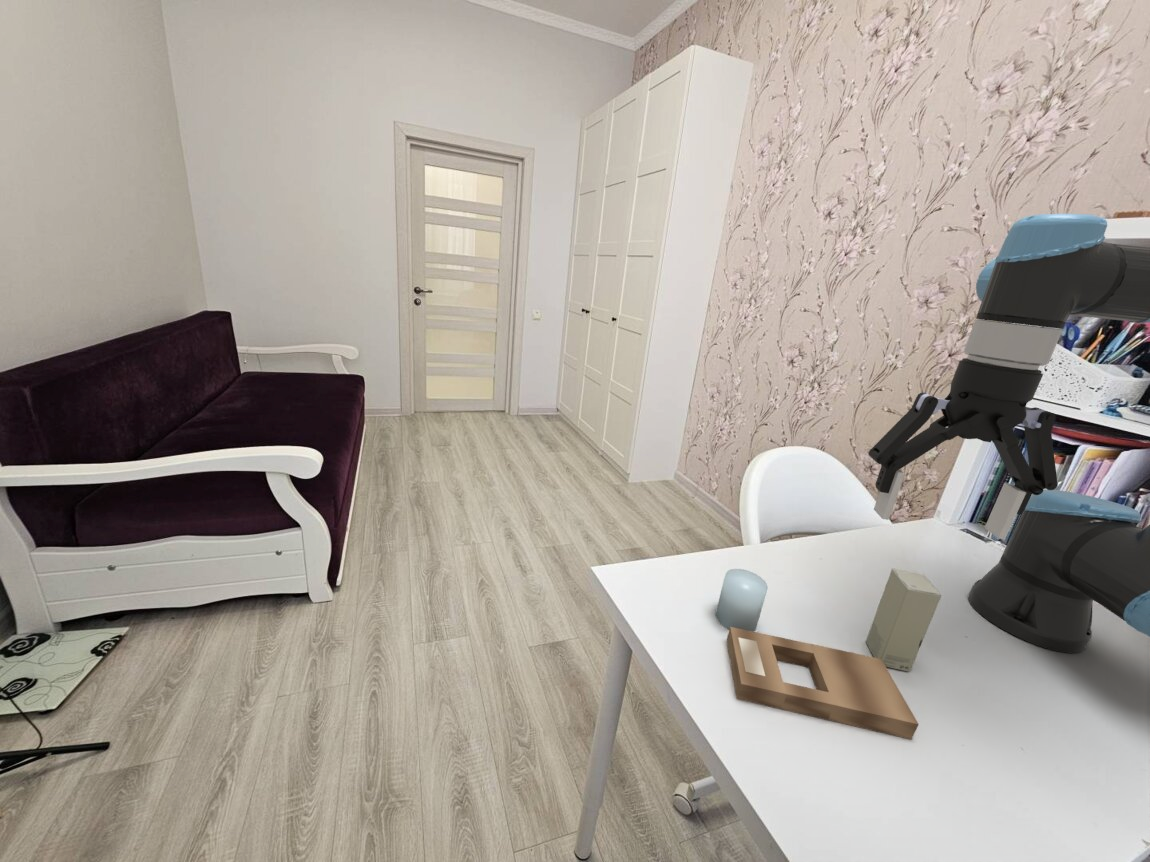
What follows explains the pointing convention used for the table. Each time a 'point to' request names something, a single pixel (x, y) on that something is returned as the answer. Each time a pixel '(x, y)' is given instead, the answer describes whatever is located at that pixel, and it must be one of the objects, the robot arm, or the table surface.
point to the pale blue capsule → (741, 600)
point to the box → (902, 619)
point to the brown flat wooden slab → (819, 683)
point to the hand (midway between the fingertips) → (936, 524)
